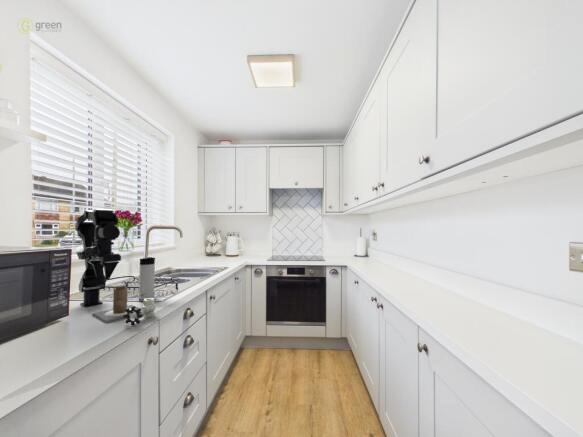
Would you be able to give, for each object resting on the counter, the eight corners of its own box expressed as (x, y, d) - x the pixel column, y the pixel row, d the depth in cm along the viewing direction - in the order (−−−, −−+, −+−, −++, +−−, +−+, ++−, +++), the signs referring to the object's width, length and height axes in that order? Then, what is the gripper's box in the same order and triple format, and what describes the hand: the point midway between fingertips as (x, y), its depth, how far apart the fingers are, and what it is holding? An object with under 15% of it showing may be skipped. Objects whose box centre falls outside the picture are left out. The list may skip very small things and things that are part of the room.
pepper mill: (110, 313, 103) (110, 287, 103) (120, 309, 108) (120, 284, 108) (120, 314, 102) (120, 287, 102) (129, 310, 107) (130, 285, 107)
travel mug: (142, 302, 121) (143, 258, 122) (136, 300, 125) (137, 256, 126) (156, 299, 126) (157, 256, 126) (150, 297, 130) (151, 255, 131)
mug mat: (92, 315, 103) (92, 312, 103) (131, 306, 115) (131, 304, 115) (106, 323, 95) (106, 320, 95) (147, 313, 106) (147, 310, 106)
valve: (143, 314, 105) (122, 325, 93) (144, 297, 105) (123, 306, 93) (160, 315, 105) (141, 326, 93) (160, 297, 105) (141, 306, 93)
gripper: (70, 240, 109) (70, 279, 108) (88, 240, 98) (87, 284, 97) (102, 239, 118) (102, 275, 117) (121, 239, 107) (121, 279, 106)
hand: (102, 278), depth 109 cm, fingers open, 9 cm apart
